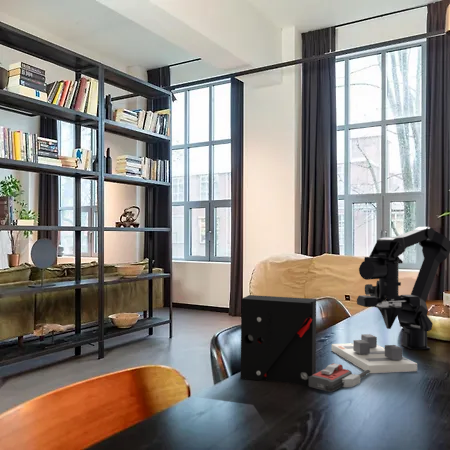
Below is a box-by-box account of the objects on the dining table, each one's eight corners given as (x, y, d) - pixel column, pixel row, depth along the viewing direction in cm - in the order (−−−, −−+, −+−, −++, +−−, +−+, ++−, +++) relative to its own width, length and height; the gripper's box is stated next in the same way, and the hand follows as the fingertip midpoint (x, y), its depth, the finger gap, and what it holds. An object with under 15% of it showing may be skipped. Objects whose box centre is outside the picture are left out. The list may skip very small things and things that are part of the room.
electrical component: (316, 375, 117) (317, 297, 118) (310, 388, 108) (311, 303, 108) (250, 368, 123) (251, 294, 124) (239, 379, 114) (240, 298, 114)
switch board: (372, 348, 146) (372, 342, 146) (417, 371, 123) (417, 363, 123) (331, 350, 144) (331, 343, 144) (368, 373, 120) (368, 365, 120)
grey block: (362, 350, 135) (363, 339, 135) (369, 353, 131) (369, 343, 131) (353, 350, 134) (353, 340, 134) (359, 353, 130) (359, 343, 130)
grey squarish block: (394, 355, 129) (394, 344, 129) (402, 359, 125) (402, 348, 125) (384, 355, 129) (384, 345, 129) (392, 359, 125) (392, 348, 125)
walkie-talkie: (338, 397, 103) (372, 377, 118) (338, 378, 103) (373, 360, 118) (303, 389, 109) (341, 370, 124) (303, 370, 109) (341, 354, 124)
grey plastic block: (370, 343, 143) (370, 334, 143) (376, 346, 139) (376, 337, 139) (361, 344, 142) (361, 334, 142) (367, 347, 138) (367, 337, 138)
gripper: (401, 275, 152) (401, 322, 152) (349, 276, 148) (348, 324, 148) (421, 278, 141) (421, 329, 141) (365, 279, 138) (365, 331, 137)
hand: (388, 328), depth 142 cm, fingers closed
